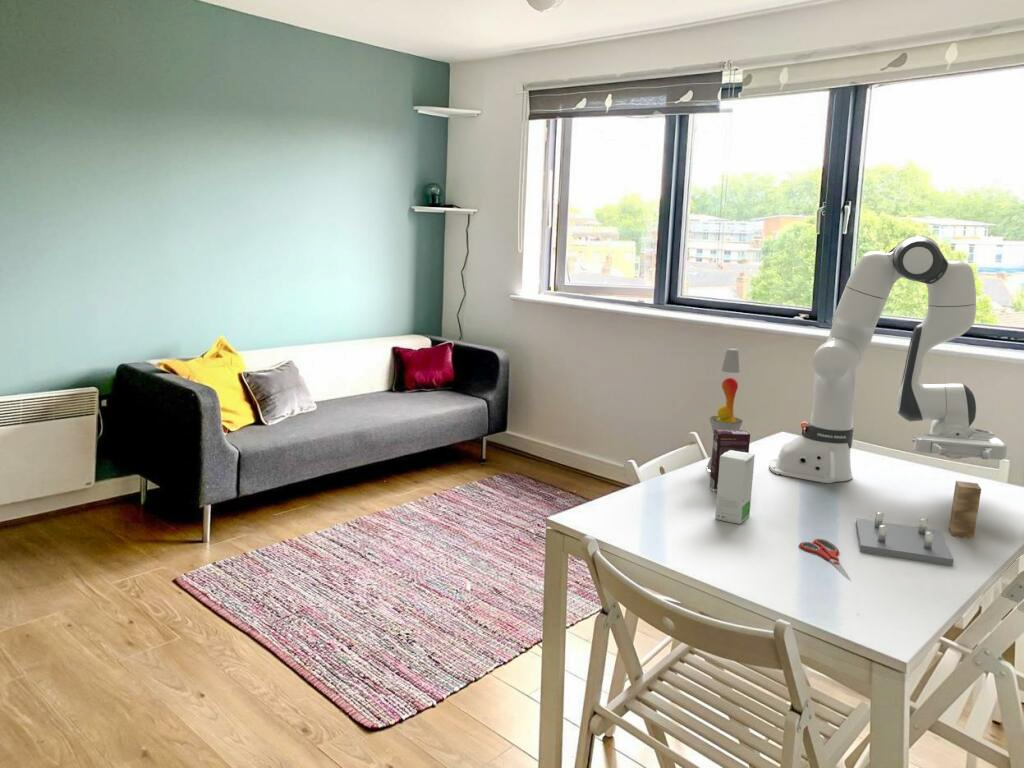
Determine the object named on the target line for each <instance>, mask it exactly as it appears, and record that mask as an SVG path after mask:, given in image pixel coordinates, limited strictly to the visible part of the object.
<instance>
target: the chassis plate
mask: <svg viewBox="0 0 1024 768" xmlns="http://www.w3.org/2000/svg"><path fill="white" fill-rule="evenodd" d="M855 519H856V520H855V528H856V529H857V530H856V529H855V530H856V536H857V535H858V536H857V542H858V541H859V542H858V547H859V552H860V553H865V554H866V553H867V554H873V555H880V556H885V557H886V556H887V557H890V558H891V557H892V558H899V559H903V560H904V559H905V560H911V561H917V562H925V563H931V564H937V565H944V566H948V567H950V566H951V567H952V566H953V565H954V557H953V556H952V554H951V551H950V549H949V546H948V544H947V541H946V539H945V537H944V535H943V533H942V531H941V529H934V528H929V527H927V530H926V532H932V533H934V536H933V542H932V549H931V550H927V549H924V548H923V546H924V539H925V535H920V534H918V530H919V526H913V525H907V524H899V523H893V522H885V521H883V522H882V525H885V526H887V533H886V540H885V543H881V542H878V541H877V539H878V532H879V529H878V528H875V527H874V524H875V520H871V519H865V518H855Z"/></svg>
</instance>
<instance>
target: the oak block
mask: <svg viewBox="0 0 1024 768" xmlns="http://www.w3.org/2000/svg"><path fill="white" fill-rule="evenodd" d="M954 485H955V486H954V489H953V490H954V491H953V499H952V505H951V509H950V510H951V511H950V516H949V518H950V519H949V523H948V524H949V525H948V531H949V533H950V535H952V536H951V537H956V536H959V537H958V538H963V537H966V538H965V539H970V538H973V539H974V538H975V531H976V525H977V519H978V512H979V506H980V500H981V494H982V488H981V487H980V485H979V483H976V482H970V481H969V482H968V481H961V480H955V484H954Z"/></svg>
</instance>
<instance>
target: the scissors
mask: <svg viewBox="0 0 1024 768" xmlns="http://www.w3.org/2000/svg"><path fill="white" fill-rule="evenodd" d="M798 548H799V549H801V550H802V551H804V552H807V553H810V552H811V554H813V553H814V555H816V554H817V556H819V557H820V556H821V558H822V559H823V558H824V559H823V560H825V561H827V562H828V563H830V564H832V566H833V567H834V568H835V569H836V570H837V571H838V572H839V573H840V574H841V575H842V576H843V577H845V579H847V580H849V581H850V582H852V579H851V577H850V576H849V574H848V573H847V571H846V570H845V569H844V567H843V566H842V564H841V563H840V562H839V561H840V560H839V558H838V555H840V549H839V548H838V547H837V546H836V545H835V544H834V543H832V542H830V541H828V540H826V539H823V538H815V539H814V540H813V541H812V542H810V541H802V542H800V543H799V545H798ZM828 548H830V549H831V550H830V549H828ZM816 549H817V550H816ZM832 549H833V550H834V551H833V550H832Z"/></svg>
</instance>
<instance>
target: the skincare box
mask: <svg viewBox="0 0 1024 768" xmlns="http://www.w3.org/2000/svg"><path fill="white" fill-rule="evenodd" d="M755 454H756V453H751V452H749V453H746V452H739V451H733V450H729V451H728V452H725V453H724V454H723V455H721V456H720V463H719V476H718V488H717V492H716V501H715V502H716V503H715V512H714V513H715V514H714V519H715V520H718V521H722V522H726V523H731V524H736V525H737V524H738V525H741V524H742V523H743V522H745V521H746V519H747V518H749V516H750V514H751V502H752V490H753V480H754V478H753V477H754V467H755V457H756V456H755Z"/></svg>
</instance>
